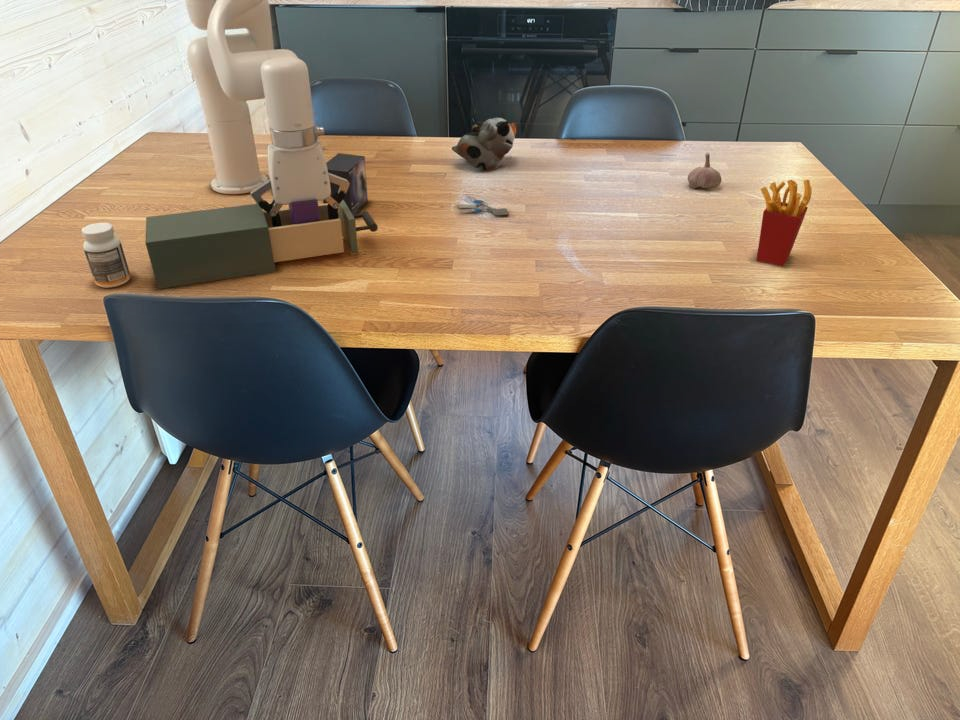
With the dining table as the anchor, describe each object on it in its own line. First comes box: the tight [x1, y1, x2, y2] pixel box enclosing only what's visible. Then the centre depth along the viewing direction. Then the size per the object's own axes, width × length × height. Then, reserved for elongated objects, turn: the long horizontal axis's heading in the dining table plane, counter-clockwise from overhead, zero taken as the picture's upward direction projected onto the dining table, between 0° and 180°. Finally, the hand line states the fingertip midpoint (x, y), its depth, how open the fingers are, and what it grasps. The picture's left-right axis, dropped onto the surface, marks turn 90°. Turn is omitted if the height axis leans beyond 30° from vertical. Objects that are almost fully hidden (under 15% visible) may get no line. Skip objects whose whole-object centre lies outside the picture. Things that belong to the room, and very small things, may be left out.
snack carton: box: [288, 199, 320, 225], centre depth 128 cm, size 6×4×9 cm
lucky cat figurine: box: [451, 117, 517, 172], centre depth 172 cm, size 15×12×14 cm
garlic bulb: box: [687, 151, 723, 189], centre depth 161 cm, size 8×7×8 cm
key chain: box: [458, 194, 510, 216], centre depth 149 cm, size 14×8×1 cm, turn 47°
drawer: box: [263, 200, 379, 263], centre depth 129 cm, size 23×10×7 cm, turn 111°
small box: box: [322, 152, 369, 219], centre depth 147 cm, size 11×6×10 cm, turn 168°
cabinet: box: [144, 203, 276, 290], centre depth 124 cm, size 20×12×9 cm, turn 111°
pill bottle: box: [81, 222, 131, 288], centre depth 118 cm, size 6×6×10 cm
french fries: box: [756, 179, 812, 268], centre depth 128 cm, size 9×8×15 cm
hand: (306, 230), depth 129 cm, fingers open, 9 cm apart
